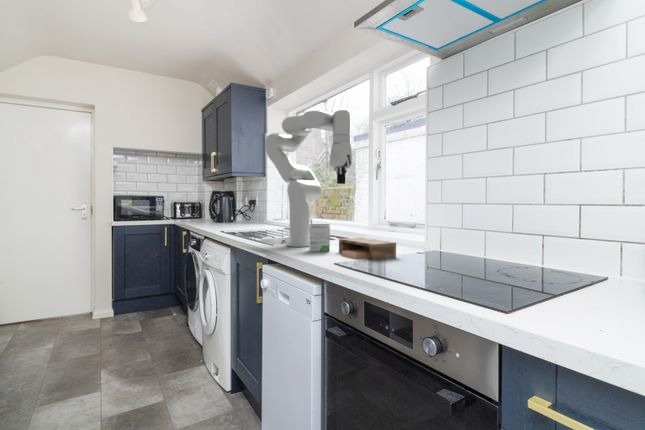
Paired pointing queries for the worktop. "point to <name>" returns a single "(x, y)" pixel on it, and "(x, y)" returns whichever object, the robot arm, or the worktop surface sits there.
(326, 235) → the ink box
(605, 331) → the worktop surface
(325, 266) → the worktop surface
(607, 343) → the worktop surface
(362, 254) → the tile
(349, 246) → the shelf
